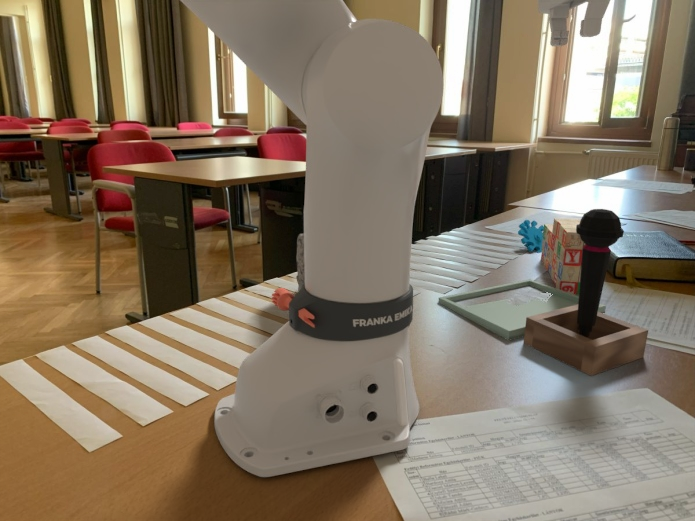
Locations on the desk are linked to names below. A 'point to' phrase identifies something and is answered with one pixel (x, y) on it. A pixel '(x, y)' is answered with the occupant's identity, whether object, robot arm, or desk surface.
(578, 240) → the stack of blocks
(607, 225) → the microphone
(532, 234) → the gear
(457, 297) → the tray
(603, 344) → the holder
